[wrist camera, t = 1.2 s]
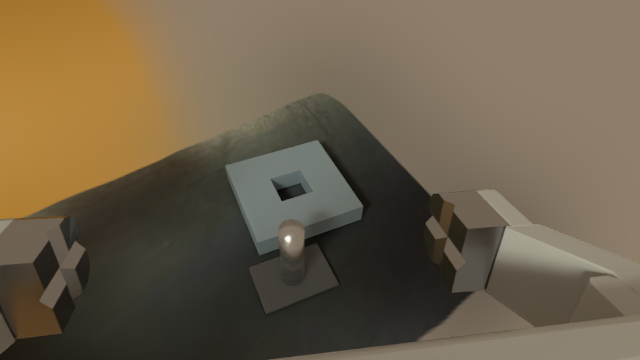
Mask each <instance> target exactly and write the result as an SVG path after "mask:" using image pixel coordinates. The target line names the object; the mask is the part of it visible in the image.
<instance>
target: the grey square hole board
mask: <svg viewBox="0 0 640 360" xmlns="http://www.w3.org/2000/svg"><path fill="white" fill-rule="evenodd" d="M225 167H226V172H227V177H228V180H229V183H230V185H231V187H232V190H233V192H234V195H235V197H236V200H237V202H238V205H239V207H240V209H241V212H242V214H243V217H244V219H245V222H246V224H247V226H248V229H249V231H250V234H251V236H252V239H253V241H254V243H255V246H256V248H257V251H258V253H259V255H262V254H265V253H268V252H270V251H273V250H276V249H279V237H278V227H279V225H280V224H281V223H282V222H283V221H285V220H289V219H294V220H298V221H300V222H301V223H302V224H303V226H304V239H307V238H310V237H313V236H315V235H318V234H321V233H324V232H327V231H329V230H332V229H335V228H338V227H341V226H344V225H346V224H349V223H352V222H355V221H358V220H360V219H361V217H362V211H363V205H362V204H361V202H360V201H359V199H358V198H357V196H356V195H355V194H354V192H353V191H352V189H351V188H350V186H349V185H348V183H347V182H346V180H345V179H344V178H343V176H342V175H341V173H340V172H339V170H338V169H337V167H336V166H335V165H334V163H333V162H332V160H331V159H330V157H329V156H328V154H327V153H326V151H325V150H324V149H323V147H322V146H321V144H320V143H319V141H318V140H316V141H313V142H309V143H305V144H302V145H298V146H295V147H291V148H287V149H284V150H280V151H276V152H273V153H269V154H265V155H262V156H258V157H254V158H251V159H247V160H243V161H240V162H236V163H233V164H229V165H225ZM299 183H301V185H302V187H303V188H304V190H305V192H306V194H304V195H301V196H297V197H294V198H291V199H288V200H285V201H281V199H280V197H279V195H278V193H277V191H276V190H279V189H283V188H286V187H289V186H292V185H296V184H299Z"/></svg>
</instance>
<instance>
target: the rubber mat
mask: <svg viewBox="0 0 640 360" xmlns="http://www.w3.org/2000/svg"><path fill="white" fill-rule="evenodd" d="M304 249H305V276H304V280H303V281H302V282H301V283H300V284H299V285H296V286H289V285H287V284H285V283H284V282H283V280H282V274H281V262H280V256H279V257H276V258H274V259H271V260H268V261H265V262H263V263H260V264H257V265H254V266H252V267H249V271H250V274H251V277H252V279H253V282H254V285H255V287H256V290H257V292H258V295H259V298H260V300H261V303H262V306H263V308H264V311H265V314H266V315H267V314H270V313H272V312H275V311H277V310H279V309H282V308H284V307H287V306H289V305H292V304H294V303H297V302H299V301H302V300H304V299H307V298H309V297H311V296H314V295H316V294H319V293H321V292H324V291H326V290H329V289H331V288H334V287H336V286H339V283H338V281H337V279H336V277H335V276H334V274H333V272H332V270H331V268H330V266H329V264H328V263H327V261H326V259H325V257H324V255H323V253H322V252H321V250H320V248H319V246H318V244H317V243H315V244H312V245H310V246H307V247H304Z"/></svg>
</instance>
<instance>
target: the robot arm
mask: <svg viewBox="0 0 640 360" xmlns="http://www.w3.org/2000/svg"><path fill="white" fill-rule="evenodd" d="M428 209H429V211H430V212H431V214H432V215H433V216H432V217H431V218H430V219H429V220H428V221H427V222H426V223H425V229H424V244H425V248H426V251H427V254H428V255H429V257H430V259H431V260H432V261H434V262H435V263H437V264H439V265H440V271H439V274H440V275H441V277H442V278H443V280H444V282H445V283H446V285H447V286H448V288H449V290H450V291H451V293H454V292H467V291H480V290H486V292H487V293H488V294H490V295H491V296H492V297H494V298H495V299H496V300H498V301H499V302H501V303H502V304H504V305H505V306H506V307H508V308H509V309H511V310H512V311H513V312H515V313H516V314H518V315H519V316H521V317H522V318H523V319H525V320H526V321H528V322H529V323H531V324H532V325H533V326H535V327H533V328H525V329H517V330H509V331H501V332H492V333H484V334H476V335H467V336H459V337H451V338H443V339H435V340H427V341H418V342H410V343H402V344H394V345H385V346H377V347H369V348H361V349H352V350H344V351H336V352H328V353H319V354H311V355H303V356H295V357H286V358H278V359H270V360H640V264H639V263H636V262H633V261H631V260H629V259H626V258H624V257H621V256H619V255H616V254H614V253H611V252H609V251H606V250H603V249H601V248H598V247H596V246H593V245H591V244H588V243H586V242H583V241H581V240H578V239H576V238H573V237H571V236H568V235H566V234H563V233H561V232H558V231H556V230H553V229H551V228H548V227H545V226H543V225H540V224H532V223H531V222H530V221H529V220H528V219H527V218H526V217H524V216H523V215H522V214H521V213H520V212H519V211H518V210H517V209H516V208H515V207H514V206H513V205H511V204H510V203H509V202H508V201H507V200H506V199H505V198H504V197H503V196H502V195H500V193H498V192H497V191H496V190H494V189H481V190H472V191H462V192H450V193H440V194H433V195H432V197H431V199H430V202H429V207H428ZM79 234H80V230H79V228H78V225H77V223H76V220H75V219H74V218H72V217H71V216H58V217H35V218H19V219H17V218H11V219H0V354H1V353H2V352H3V351H5V350H6V349H7V348H8V347H9V346H10V345H12V344H13V343H14V342H15V339H20V338H28V337H36V336H44V335H51V334H59V333H63V331H64V329H65V327H66V325H67V323H68V321H69V319H70V317H71V315H72V313H73V311H74V309H75V306H74V303H73V300H72V299H73V298H75V297H76V296H78V295H79V294H80V293H82V292H83V290H84V288H85V286H86V284H87V282H88V276H89V269H90V267H89V258H88V255H87V252H86V249H85V248H84V247H82V246H81V245H80V244H78V243H77V242H76V239H77V237H78V235H79Z"/></svg>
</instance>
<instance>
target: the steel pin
mask: <svg viewBox="0 0 640 360" xmlns="http://www.w3.org/2000/svg"><path fill="white" fill-rule="evenodd" d="M278 237H279V250H280V262H281V274H282V280H283V282H284V283H285V284H287V285H289V286H296V285H299V284H300V283H301V282H302V281H303V280H304V276H305V249H304V226H303V224H302V223H301V222H300V221H298V220H294V219H289V220H285V221H283V222H282V223H281V224H280V225H279V227H278Z"/></svg>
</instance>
